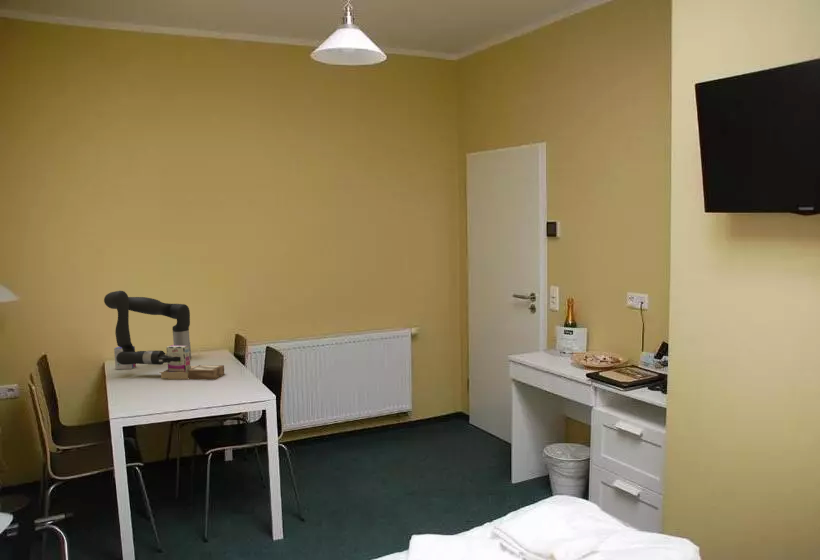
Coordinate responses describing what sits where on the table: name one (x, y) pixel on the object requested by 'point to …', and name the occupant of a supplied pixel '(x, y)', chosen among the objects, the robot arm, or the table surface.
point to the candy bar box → (183, 354)
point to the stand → (206, 372)
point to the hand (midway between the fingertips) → (183, 357)
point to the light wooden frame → (175, 374)
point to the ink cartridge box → (118, 365)
